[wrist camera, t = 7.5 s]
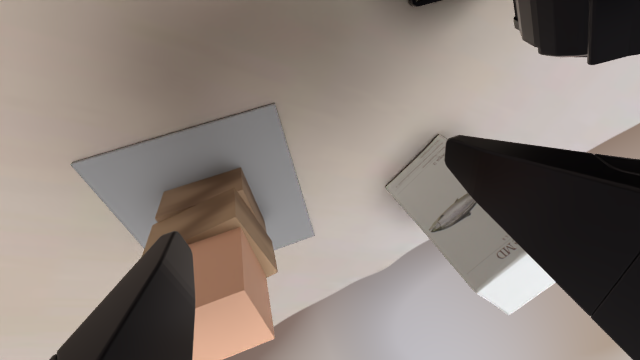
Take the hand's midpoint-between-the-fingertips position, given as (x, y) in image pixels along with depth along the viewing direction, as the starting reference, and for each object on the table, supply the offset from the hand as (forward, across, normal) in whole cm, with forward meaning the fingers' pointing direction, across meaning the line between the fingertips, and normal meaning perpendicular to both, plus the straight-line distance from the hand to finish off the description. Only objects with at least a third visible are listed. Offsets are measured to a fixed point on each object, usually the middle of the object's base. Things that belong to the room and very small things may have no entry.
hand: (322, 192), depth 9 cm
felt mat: (+13, +7, +8) cm, 17 cm away
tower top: (+10, +7, +8) cm, 14 cm away
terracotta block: (+6, +7, +8) cm, 12 cm away
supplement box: (+13, -13, +13) cm, 23 cm away
